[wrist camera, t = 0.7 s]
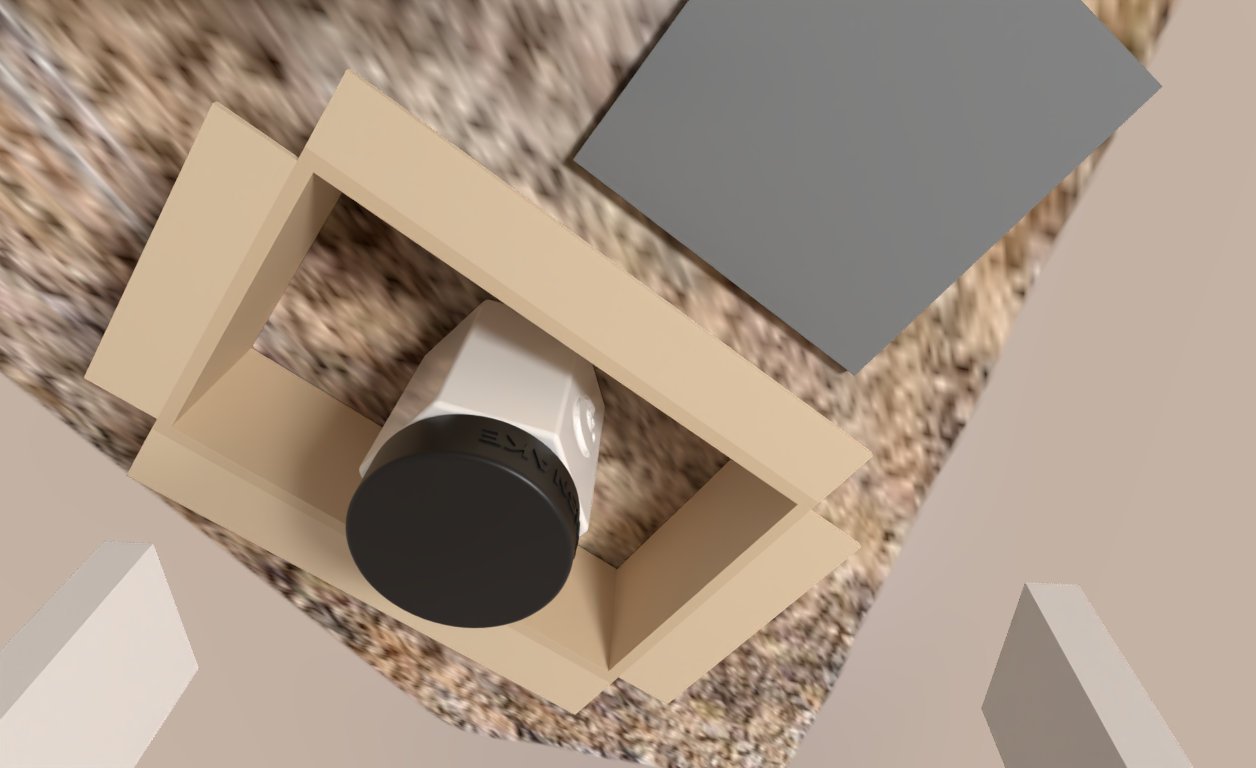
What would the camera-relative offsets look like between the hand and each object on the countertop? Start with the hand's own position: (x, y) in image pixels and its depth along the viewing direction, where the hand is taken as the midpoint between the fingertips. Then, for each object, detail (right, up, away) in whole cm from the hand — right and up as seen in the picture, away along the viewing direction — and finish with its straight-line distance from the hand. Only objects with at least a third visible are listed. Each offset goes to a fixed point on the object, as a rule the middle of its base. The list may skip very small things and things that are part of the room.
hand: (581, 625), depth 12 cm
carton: (-5, +4, +26) cm, 26 cm away
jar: (-5, +4, +26) cm, 27 cm away
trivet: (+10, +14, +19) cm, 26 cm away
